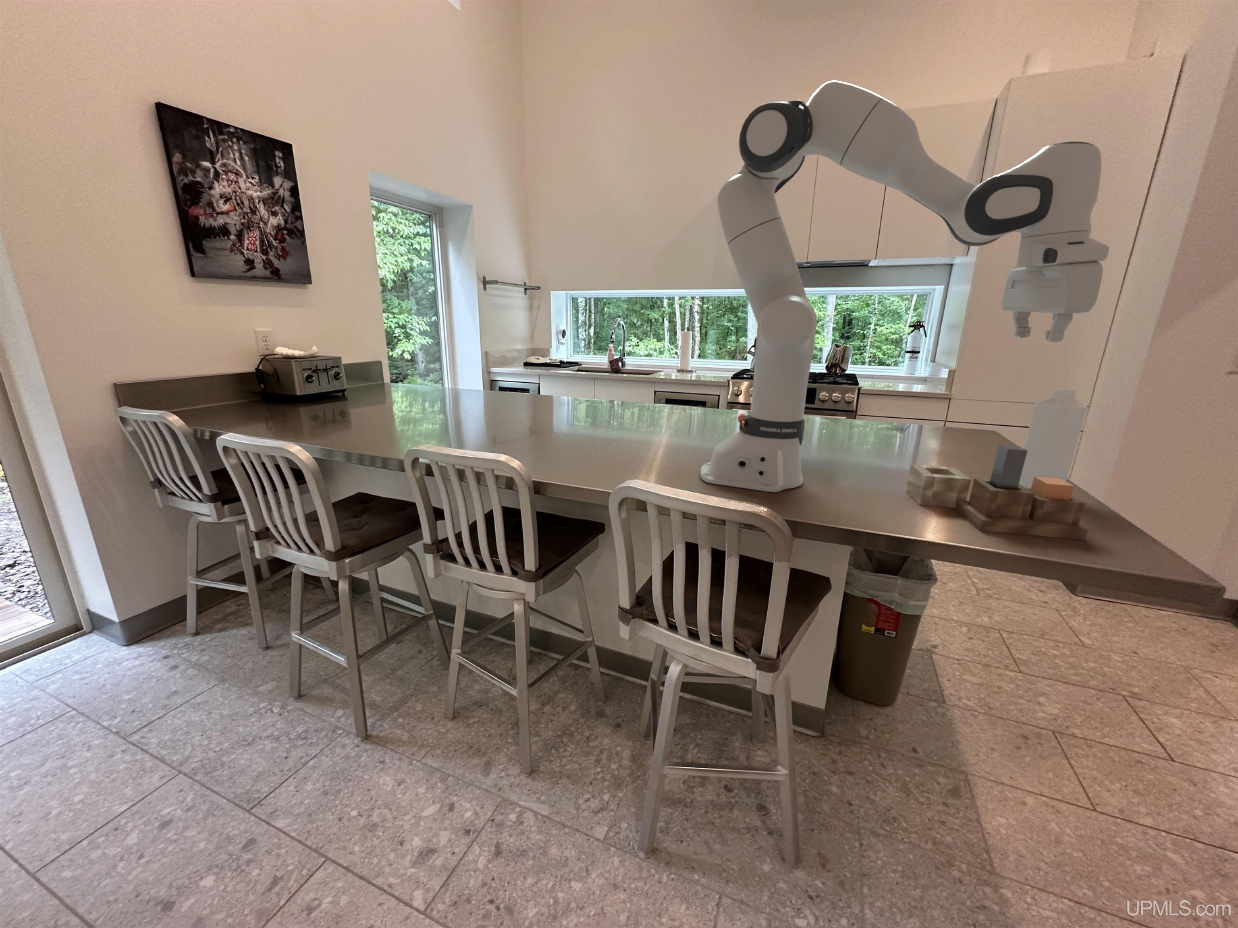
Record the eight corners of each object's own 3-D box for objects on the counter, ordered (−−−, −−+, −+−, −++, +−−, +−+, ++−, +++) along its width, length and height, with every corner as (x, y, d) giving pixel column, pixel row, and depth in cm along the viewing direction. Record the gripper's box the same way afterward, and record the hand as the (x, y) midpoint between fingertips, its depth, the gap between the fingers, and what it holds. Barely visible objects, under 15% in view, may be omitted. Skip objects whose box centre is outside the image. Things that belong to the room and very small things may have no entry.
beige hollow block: (919, 504, 99) (925, 475, 97) (906, 491, 107) (911, 464, 105) (964, 508, 98) (971, 479, 96) (947, 494, 105) (953, 467, 103)
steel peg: (991, 513, 90) (1007, 449, 86) (983, 507, 93) (999, 444, 89) (1010, 515, 89) (1027, 450, 86) (1001, 509, 92) (1018, 446, 89)
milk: (1012, 488, 110) (1037, 387, 104) (1033, 486, 111) (1059, 387, 105) (1041, 498, 104) (1070, 392, 98) (1063, 496, 106) (1092, 391, 99)
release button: (1041, 505, 87) (1047, 483, 86) (1028, 497, 91) (1034, 476, 90) (1067, 507, 86) (1074, 485, 85) (1053, 499, 90) (1059, 478, 89)
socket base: (979, 530, 88) (988, 492, 86) (955, 509, 97) (963, 475, 95) (1085, 540, 85) (1097, 501, 83) (1049, 517, 94) (1059, 482, 92)
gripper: (997, 260, 94) (987, 336, 98) (1068, 250, 75) (1051, 345, 79) (1036, 257, 93) (1023, 334, 97) (1118, 246, 74) (1098, 342, 78)
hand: (1036, 339), depth 88 cm, fingers open, 8 cm apart
